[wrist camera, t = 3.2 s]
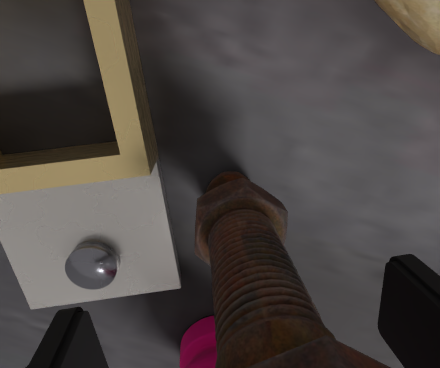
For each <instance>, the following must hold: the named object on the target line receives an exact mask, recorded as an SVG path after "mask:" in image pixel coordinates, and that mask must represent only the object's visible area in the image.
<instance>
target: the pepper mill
mask: <svg viewBox="0 0 440 368" xmlns="http://www.w3.org/2000/svg"><path fill="white" fill-rule="evenodd" d="M216 360H217V349H216V338H215V321H214V315H213V316H209V317H206V318H203V319H201V320H199V321H198V322H196V323H194V324H193V325H192V326H191V327H190V328H189V329H188V330H187V331H186V332H185V334H184V335H183V338H182V341H181V348H180V368H215V364H216Z"/></svg>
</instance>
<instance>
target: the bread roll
mask: <svg viewBox="0 0 440 368" xmlns="http://www.w3.org/2000/svg"><path fill="white" fill-rule="evenodd" d="M374 1H375V2H376V3H377V4H378V5H379V7H380V8H381V9H382V10H384V11H385V12H386V13H387V14H388V15H389V17H390V18H391V19H392V20H393V21H394V22H395V23H396V24H397V25H398V26H399V27H400V28H401V29H402V30H403V31H404V32H405V33H406V34H407V35H408V36H409V37H410V38H411V39H412V40H414V41H415V42H416V43H418V44H419V45H421V46H422V47H424V48H426V49H428V50H429V51H431V52H433V53H435V54H438V55H440V0H374Z"/></svg>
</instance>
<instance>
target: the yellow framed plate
mask: <svg viewBox="0 0 440 368" xmlns="http://www.w3.org/2000/svg"><path fill="white" fill-rule="evenodd" d="M83 1H84V5H85V9H86V13H87V17H88V22H89V26H90V30H91V34H92V38H93V42H94V47H95V51H96V55H97V59H98V63H99V68H100V72H101V76H102V80H103V84H104V88H105V93H106V97H107V101H108V105H109V109H110V113H111V118H112V122H113V126H114V130H115V134H116V138H117V141H113V142H105V143H96V144H88V145H80V146H72V147H63V148H55V149H47V150H39V151H30V152H22V153H14V154H5V155H2V152H1V150H0V241H1V243H2V245H3V248H4V250H5V252H6V254H7V257H8V259H9V261H10V263H11V266H12V268H13V270H14V272H15V275H16V277H17V279H18V281H19V283H20V286H21V288H22V290H23V292H24V295H25V297H26V299H27V301H28V304H29V306H30V308H31V309H37V308H44V307H51V306H59V305H66V304H73V303H80V302H87V301H94V300H101V299H108V298H115V297H122V296H130V295H137V294H144V293H151V292H158V291H165V290H172V289H179V288H181V279H182V276H181V271H180V265H179V260H178V255H177V250H176V244H175V239H174V234H173V228H172V223H171V218H170V213H169V207H168V202H167V197H166V192H165V186H164V181H163V176H162V170H161V165H160V160H159V155H158V149H157V144H156V139H155V134H154V128H153V123H152V118H151V112H150V107H149V102H148V97H147V91H146V86H145V81H144V76H143V70H142V65H141V60H140V54H139V49H138V44H137V39H136V33H135V28H134V23H133V18H132V12H131V7H130V2H129V0H83Z"/></svg>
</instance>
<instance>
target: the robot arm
mask: <svg viewBox="0 0 440 368" xmlns="http://www.w3.org/2000/svg"><path fill="white" fill-rule="evenodd" d="M378 329H379V332H380V334H381V336H382V338H383V339H384V340H385V342H386V343H387V344H388V346H389V347H390V348H391V350H392V351H393V353H394V354H395V355H396V357H397V358H398V359H399V361H400V362H401V363H402V365H403V366H404V368H440V276H439V275H438V274H437V273H435V272H434V271H433V270H432V269H430V268H429V267H428V266H427V265H425V264H424V263H423V262H422V261H421V260H419V259H418V258H417V257H416V256H414V255H412V254H406V255H400V256H394V257H391V258H390V260H389V262H388V263H386V266H385V273H384V280H383V288H382V295H381V303H380V310H379V318H378ZM26 368H109V367H108V364H107V362H106V359H105V356H104V353H103V351H102V348H101V345H100V342H99V339H98V337H97V334H96V331H95V328H94V326H93V323H92V320H91V317H90V315H89V312H88V311H83V309H82V308H81V307H75V308H69V309H62V310H59V311H58V312H57V313H56V315H55V317H54V318H53V320H52V322H51V324H50V326H49V328H48V330H47V332H46V333H45V335H44V337H43V339H42V341H41V343H40V345H39V347H38V348H37V350H36V352H35V354H34V356H33V358H32V360H31V362H30V363H29V365H28V366H27V367H26Z"/></svg>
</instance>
